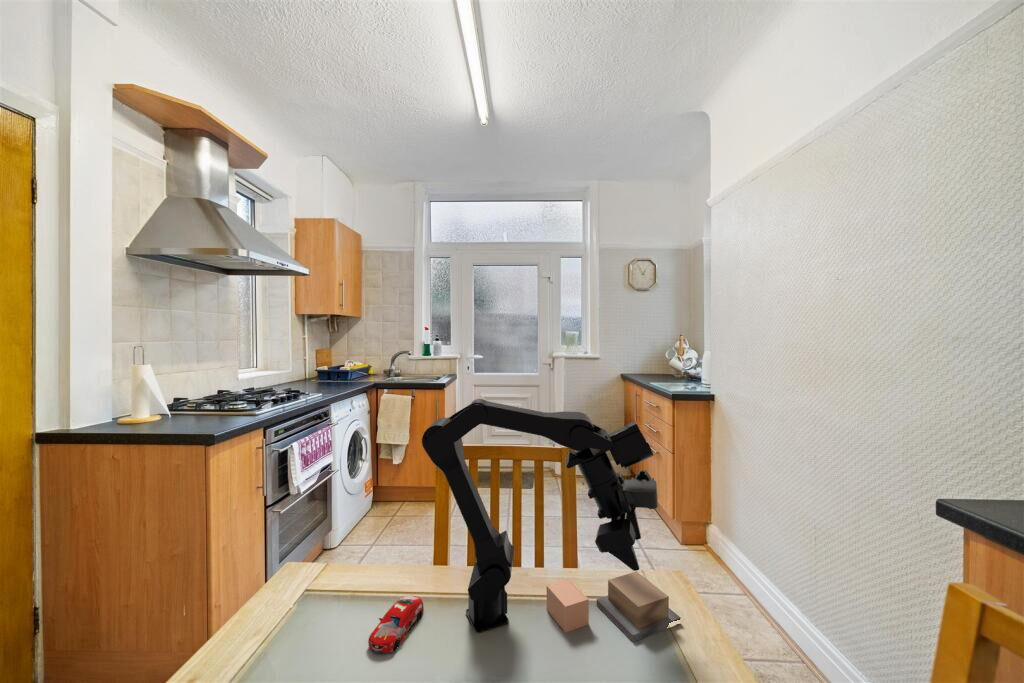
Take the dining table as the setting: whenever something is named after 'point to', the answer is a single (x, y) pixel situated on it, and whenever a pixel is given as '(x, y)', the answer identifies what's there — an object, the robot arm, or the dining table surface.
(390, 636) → the race car
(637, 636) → the tower base
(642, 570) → the dining table surface
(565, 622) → the terracotta brick
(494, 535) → the robot arm
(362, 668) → the dining table surface
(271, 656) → the dining table surface
